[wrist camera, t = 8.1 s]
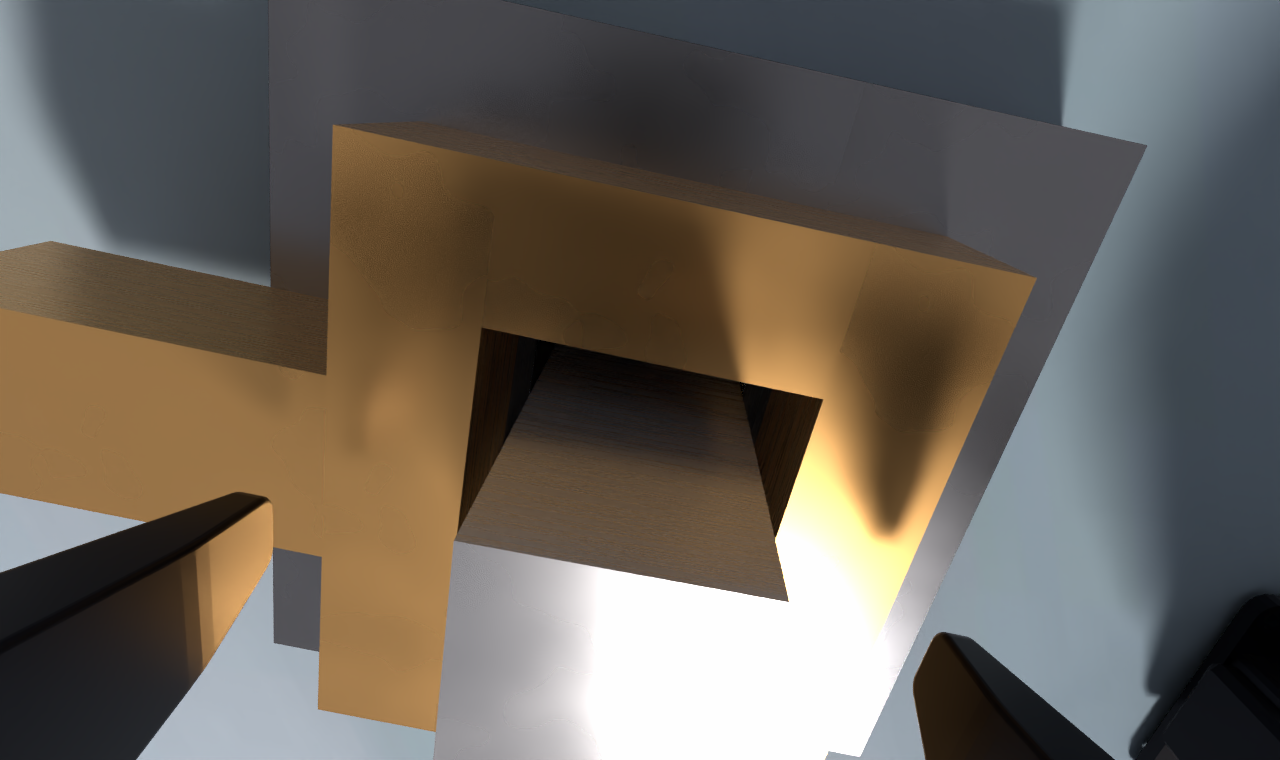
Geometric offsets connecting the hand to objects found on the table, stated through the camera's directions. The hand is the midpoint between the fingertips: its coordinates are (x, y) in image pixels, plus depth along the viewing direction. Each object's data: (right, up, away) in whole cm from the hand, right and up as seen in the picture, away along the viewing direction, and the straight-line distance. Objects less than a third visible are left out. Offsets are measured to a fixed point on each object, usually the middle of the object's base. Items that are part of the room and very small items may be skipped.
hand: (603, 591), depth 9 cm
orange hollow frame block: (-2, +3, +6) cm, 7 cm away
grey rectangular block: (0, +3, +6) cm, 7 cm away
